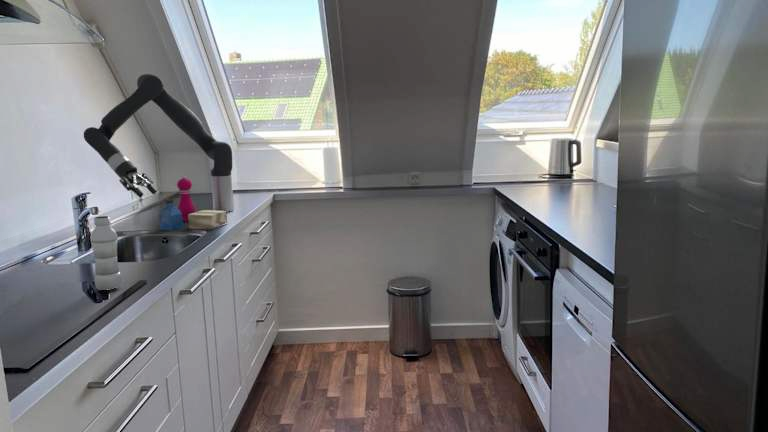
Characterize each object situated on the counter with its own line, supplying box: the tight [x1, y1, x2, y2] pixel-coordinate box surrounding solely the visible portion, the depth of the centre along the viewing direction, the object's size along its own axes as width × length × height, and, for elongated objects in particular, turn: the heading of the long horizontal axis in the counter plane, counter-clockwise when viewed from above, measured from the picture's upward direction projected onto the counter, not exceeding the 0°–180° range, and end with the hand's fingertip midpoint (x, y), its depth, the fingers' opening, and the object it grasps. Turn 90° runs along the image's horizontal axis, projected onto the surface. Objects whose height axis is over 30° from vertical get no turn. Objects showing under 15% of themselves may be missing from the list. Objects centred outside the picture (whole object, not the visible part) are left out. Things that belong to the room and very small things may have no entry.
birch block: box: [188, 209, 228, 230], centre depth 233 cm, size 11×11×6 cm
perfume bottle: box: [158, 198, 184, 232], centre depth 229 cm, size 6×6×12 cm
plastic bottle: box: [89, 215, 123, 291], centre depth 149 cm, size 6×7×20 cm
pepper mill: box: [176, 174, 196, 223], centre depth 245 cm, size 7×7×20 cm
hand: (148, 194), depth 230 cm, fingers open, 8 cm apart
